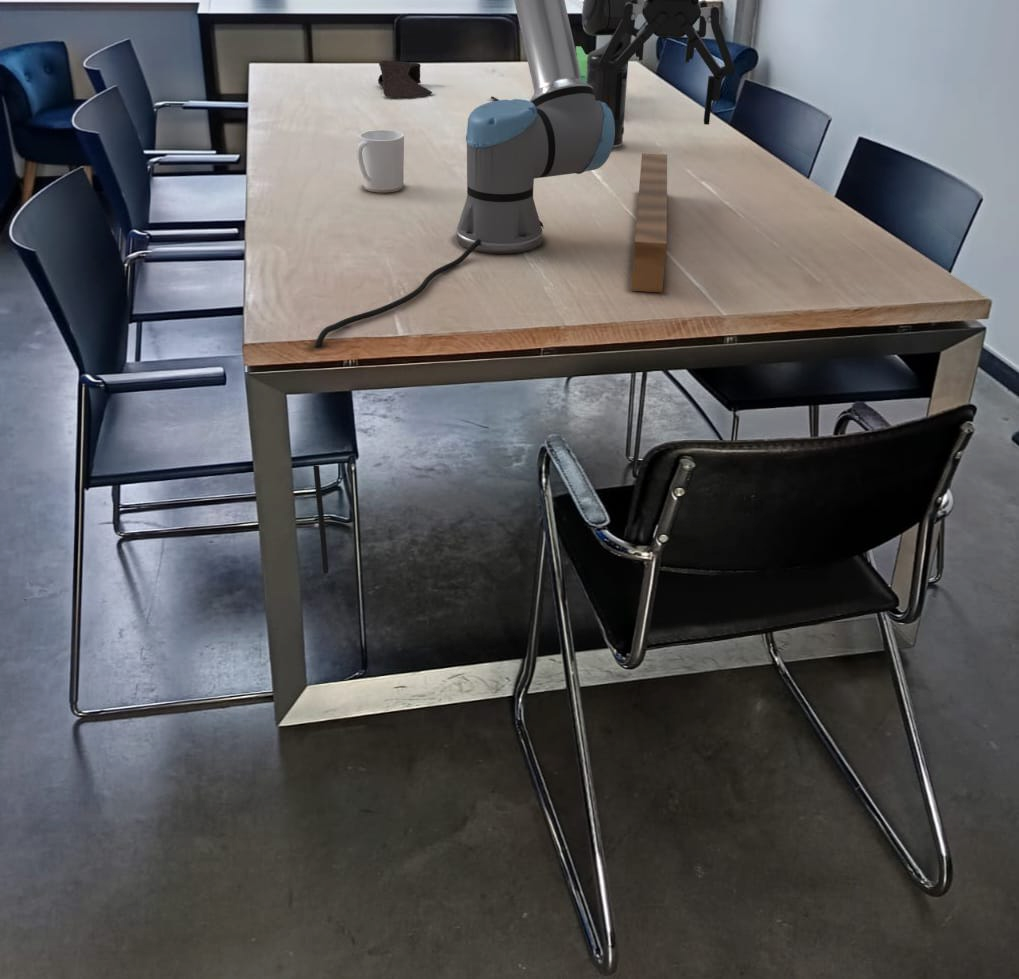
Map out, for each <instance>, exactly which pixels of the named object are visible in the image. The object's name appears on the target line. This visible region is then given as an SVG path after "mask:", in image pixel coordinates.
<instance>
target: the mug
mask: <svg viewBox="0 0 1019 979" xmlns="http://www.w3.org/2000/svg"><path fill="white" fill-rule="evenodd" d="M356 157H357V161H358V166H359V169H360V172H361V174H362V184H363V188H364V189H365V190H366V191H369V192H372V193H383V194H385V193H393V192H398V191H400V190H402V189H403V187H404V177H405V176H404V174H405V170H404V169H405V168H404V166H405V134H404V133H403V132H401V131H397V130H393V129H372V130H365V131H362V132H360V133H359V134H358V145H357V150H356Z"/></svg>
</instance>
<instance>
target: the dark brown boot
mask: <svg viewBox="0 0 1019 979" xmlns="http://www.w3.org/2000/svg"><path fill="white" fill-rule="evenodd" d="M378 66H379V68H380V72H381V74H379V75H378V79H377V84H378V85H379V86H380V87H381V88H382V89H383V95H384V96H385V97H388V98H394V99H395V98H396V99H403V98H405V99H406V98H407V99H411V98H418V97H425V96H429V95H432V94H433V91H431V90H430V89H428V88H427V87H425V86H422V85H421V84H422V82H421V63H419V62H410V61H408V62H407V61H397V60H388V59H387V60H380V61H379V62H378Z"/></svg>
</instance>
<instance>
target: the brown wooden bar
mask: <svg viewBox="0 0 1019 979" xmlns="http://www.w3.org/2000/svg"><path fill="white" fill-rule="evenodd" d="M635 223H636V224H635V234H634V248H633V259H632V260H633V261H632V272H631V285H630V291H634V292H647V293H663V288H664V287H663V286H664V277H665V267H666V258H667V257H666V256H667V245H668V154H666V153H650V152H649V153H646V152H642V153H641V160H640V174H639V187H638V198H637V210H636V222H635Z"/></svg>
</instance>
